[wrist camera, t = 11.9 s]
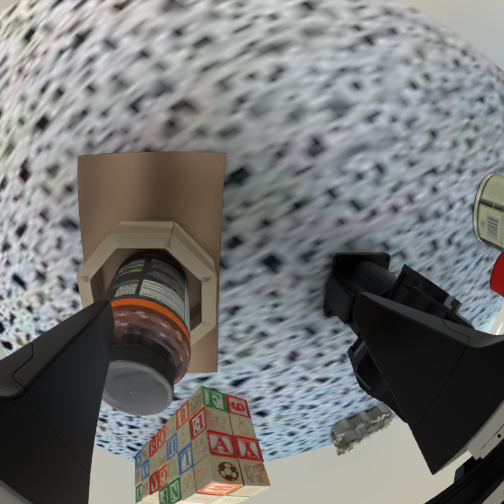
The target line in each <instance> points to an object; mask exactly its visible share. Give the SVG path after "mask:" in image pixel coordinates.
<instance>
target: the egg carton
mask: <svg viewBox="0 0 504 504" xmlns="http://www.w3.org/2000/svg"><path fill="white" fill-rule="evenodd" d="M395 414H396V413H392V412H391V410H390V409H389V408H388V406H387V405H386V404H382V403H379V404H377V405H376V406H375V407H374V408H373V409H372V410H371V411H368V412H365V411H364V410H363V411H361V412H359V413H358V414H357V415H356V416H355V417H354V418H352V419H349V420H346V418H344V419H341V420H340V421H339V422H338V423H337V424H336V425H334V426H333V427H332V430H333V432H334V434H333V435H331V439H332V441H333V444H334V445H335V447H337V454H338V455H341V454H344V453H346V452H347V451H350V450H351V449H353V445H355V444H359V443H360V442H361V441H362V440H364V439H365V438H369V437H370V436H372V435H373V434H375V433H376V432H378V430H379V429H381V430H383V429H385V428H387V425H388V426H389V425H390V422H391V421H392V419H394V417H393V416H394V415H395ZM358 428H359V429H358ZM356 429H357V430H356ZM353 430H355V431H353Z"/></svg>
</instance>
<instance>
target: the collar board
mask: <svg viewBox="0 0 504 504" xmlns="http://www.w3.org/2000/svg"><path fill="white" fill-rule="evenodd" d="M225 155H226V153H212V152H131V153H111V154H96V155H84V156H78V201H79V217H80V228H81V238H82V247H83V255H84V262H85V264H84V265H83V266H82V268H81V269H80V270H79V272H78V273H77V281H78V286H79V291H80V296H81V300H82V305H83V309H84V308H85V307H87V306H89V305H90V304H92V303H94V302H95V301H97V300H102V299H103V297H104V295H105V293H106V291H107V289H108V287H109V285H110V283H111V281H112V279H113V277H114V276H115V274H116V272H117V270H118V268H119V267H120V265H121V264H122V263H123V262H124V261H125V260H126V259H127V258H128V257H130V256H131V255H133V254H136V253H138V252H143V251H156V252H160V253H163V254H166V255H167V256H169V257H171V258H172V259H174V260H175V261H176V262H177V263H178V264H179V265H180V266H181V267H182V269H183V270H184V272H185V275H186V277H187V281H188V289H189V304H190V303H191V304H190V306H189V317H190V342H191V358H190V365H189V368H188V370H187V372H186V373H212V372H217V366H218V301H219V268H220V243H221V222H222V203H223V185H224V170H225Z"/></svg>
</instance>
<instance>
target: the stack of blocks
mask: <svg viewBox="0 0 504 504" xmlns="http://www.w3.org/2000/svg"><path fill="white" fill-rule="evenodd" d="M263 462H264V460H263V456H262V453H261V449H260V446H259V443H258V440H257V438H256V435H255V432H254V428H253V424H252V421H251V416H250V412H249V409H248V405H247V401H246V400H244V399H240V398H237V397H234V396H231V395H228V394H224V393H221V392H218V391H215V390H212V389H209V388H206V387H204V386H201V387H200V388H199V389H198V390H197V391H196V392H195V393H194V394H193V395H192V397H191V398H190V399H189V400H187V401H186V402H185V403H184V404H183V405H182V406H181V408H180V409H179V410H178V411H177V412H176V413H175V414H174V415H173V416H172V417H171V418H170V419H169V420H168V421H167V422H166V425H165V426H164V427H163V428H162V429H161V430H160V431H159V432H158V434H157V435H156V436H155V437H154V438H153V439H152V440H151V441H150V442H148V443H147V444H146V445H145V446H144V447H143V448H142V449H141V450H140V451H139V452H138V453H137V454H136V462H135V487H136V504H237V503H239V502H241V501H243V500H245V499H247V498H249V497H250V496H254V495H256V494H258V493H260V492H262V491H264V490H265V489H267V488H269V487H270V483H269V479H268V476H267V473H266V470H265V467H264V464H263Z"/></svg>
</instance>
